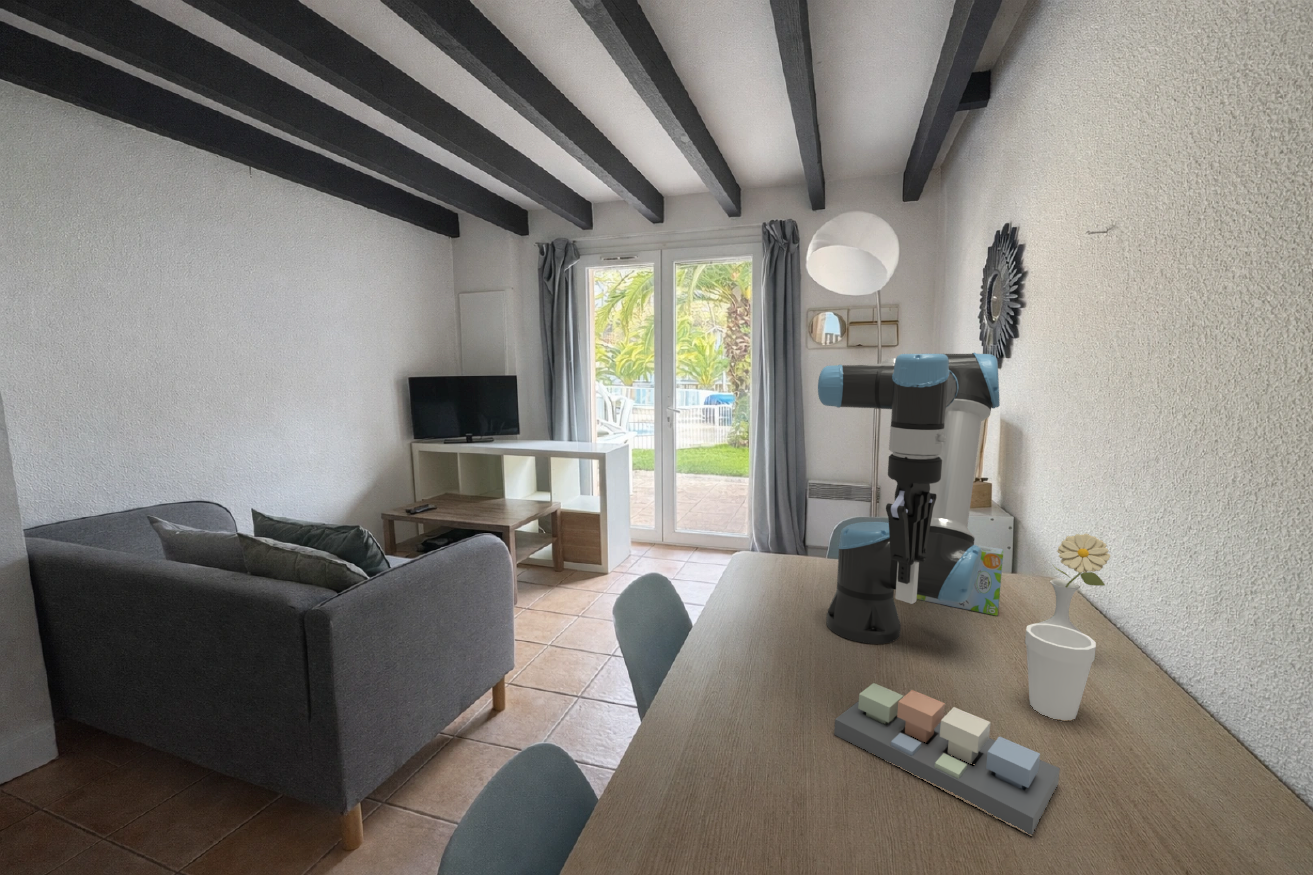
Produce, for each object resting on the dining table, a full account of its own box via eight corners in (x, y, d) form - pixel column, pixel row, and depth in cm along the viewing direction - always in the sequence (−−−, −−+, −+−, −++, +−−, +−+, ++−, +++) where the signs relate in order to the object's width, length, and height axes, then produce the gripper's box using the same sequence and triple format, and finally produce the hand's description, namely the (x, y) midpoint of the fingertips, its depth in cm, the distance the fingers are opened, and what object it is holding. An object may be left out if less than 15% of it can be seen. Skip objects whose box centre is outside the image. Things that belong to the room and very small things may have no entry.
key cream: (938, 752, 79) (940, 720, 79) (951, 738, 83) (953, 706, 82) (975, 770, 76) (978, 736, 75) (987, 754, 79) (990, 722, 79)
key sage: (857, 723, 88) (859, 693, 88) (871, 711, 92) (873, 682, 91) (887, 738, 85) (889, 707, 84) (901, 725, 88) (903, 695, 88)
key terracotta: (896, 732, 84) (898, 701, 83) (909, 719, 87) (912, 689, 86) (929, 748, 80) (932, 716, 80) (942, 734, 84) (945, 703, 83)
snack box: (998, 609, 136) (1004, 548, 134) (997, 617, 131) (1003, 554, 130) (903, 589, 147) (907, 533, 146) (899, 596, 142) (903, 538, 141)
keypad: (834, 734, 87) (835, 715, 86) (873, 702, 96) (874, 684, 95) (1031, 837, 68) (1033, 813, 68) (1058, 785, 77) (1060, 763, 76)
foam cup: (1067, 733, 88) (1075, 654, 87) (1007, 702, 96) (1014, 629, 95) (1099, 717, 92) (1107, 642, 91) (1039, 689, 101) (1046, 619, 99)
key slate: (984, 785, 75) (987, 751, 75) (996, 769, 79) (999, 736, 78) (1026, 806, 72) (1029, 770, 71) (1036, 787, 75) (1040, 753, 75)
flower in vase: (1012, 640, 119) (1023, 525, 116) (1047, 631, 124) (1058, 520, 121) (1079, 670, 107) (1093, 542, 105) (1115, 659, 112) (1129, 536, 109)
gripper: (922, 463, 80) (911, 620, 83) (957, 452, 89) (946, 595, 92) (871, 456, 86) (863, 604, 89) (909, 447, 94) (900, 582, 98)
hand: (905, 599), depth 90 cm, fingers closed
